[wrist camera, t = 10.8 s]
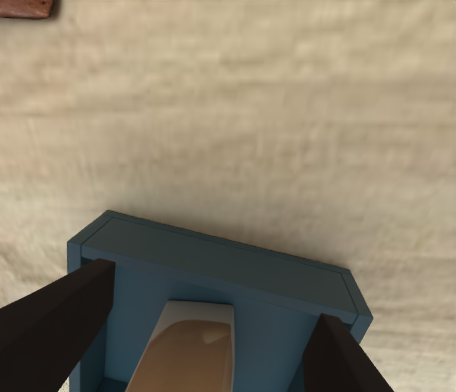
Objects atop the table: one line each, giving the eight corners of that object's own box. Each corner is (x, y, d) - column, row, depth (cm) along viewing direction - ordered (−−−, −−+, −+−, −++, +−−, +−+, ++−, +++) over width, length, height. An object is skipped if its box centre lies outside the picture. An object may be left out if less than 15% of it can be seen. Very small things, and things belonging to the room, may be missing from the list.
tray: (349, 269, 16) (374, 318, 12) (279, 420, 21) (283, 482, 18) (107, 209, 16) (66, 241, 13) (99, 372, 21) (69, 425, 18)
